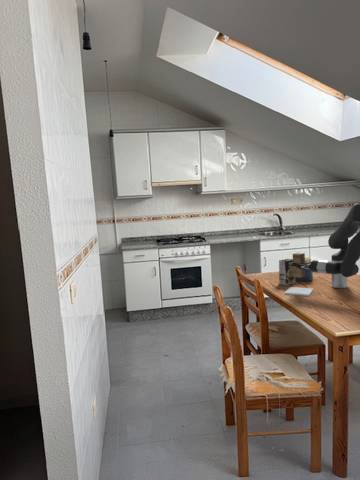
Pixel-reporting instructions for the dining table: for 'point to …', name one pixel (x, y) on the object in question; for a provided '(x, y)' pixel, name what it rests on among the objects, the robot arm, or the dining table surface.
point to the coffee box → (286, 272)
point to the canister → (306, 273)
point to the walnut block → (298, 259)
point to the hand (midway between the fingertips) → (295, 263)
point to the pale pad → (299, 291)
